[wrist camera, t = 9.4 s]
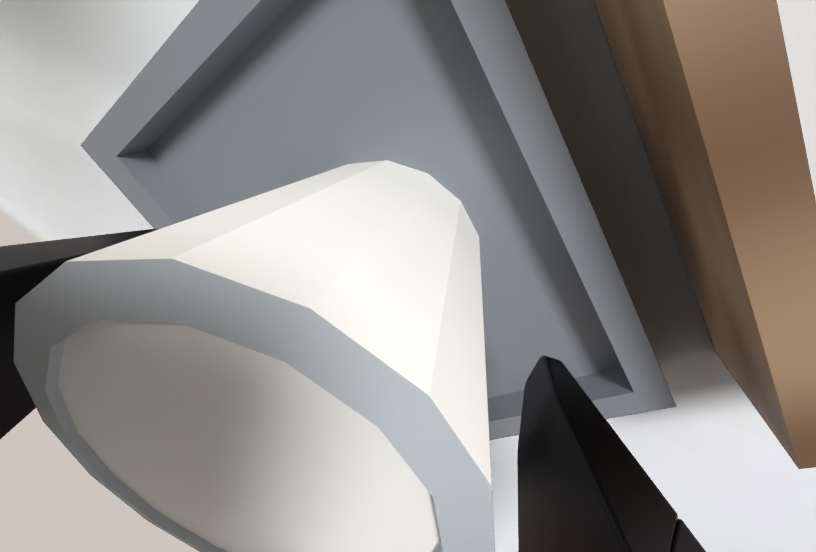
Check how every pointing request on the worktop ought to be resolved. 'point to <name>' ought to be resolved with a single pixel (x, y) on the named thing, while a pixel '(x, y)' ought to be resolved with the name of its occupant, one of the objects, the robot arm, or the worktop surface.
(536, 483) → the robot arm
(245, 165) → the charcoal tray
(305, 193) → the white tapered cup
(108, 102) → the worktop surface
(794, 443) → the walnut bin
